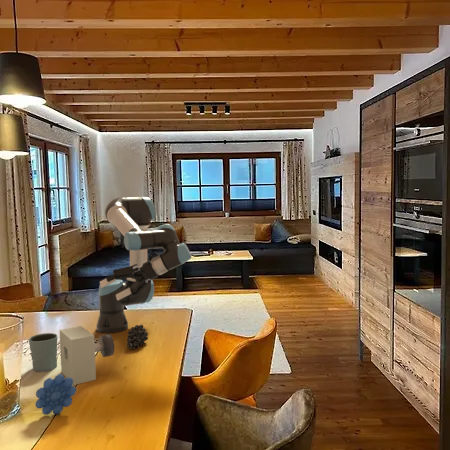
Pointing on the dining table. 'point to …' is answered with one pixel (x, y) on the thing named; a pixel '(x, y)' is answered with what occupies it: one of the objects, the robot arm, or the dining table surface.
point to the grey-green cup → (43, 351)
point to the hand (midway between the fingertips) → (108, 291)
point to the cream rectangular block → (77, 354)
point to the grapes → (55, 394)
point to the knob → (105, 345)
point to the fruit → (136, 336)
